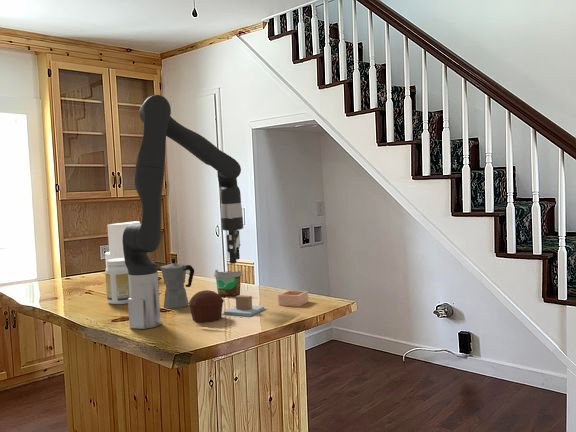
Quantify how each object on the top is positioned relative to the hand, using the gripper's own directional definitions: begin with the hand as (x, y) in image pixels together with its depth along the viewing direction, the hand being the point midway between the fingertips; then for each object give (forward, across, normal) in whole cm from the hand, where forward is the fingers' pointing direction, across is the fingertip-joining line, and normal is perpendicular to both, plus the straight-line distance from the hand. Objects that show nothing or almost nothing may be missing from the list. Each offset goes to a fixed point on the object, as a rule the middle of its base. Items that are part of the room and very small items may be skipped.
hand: (234, 261), depth 196 cm
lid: (+16, +9, +4) cm, 19 cm away
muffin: (+17, +17, -8) cm, 25 cm away
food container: (+18, -22, -8) cm, 30 cm away
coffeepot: (+17, -7, -23) cm, 30 cm away
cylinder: (+18, -71, -66) cm, 98 cm away
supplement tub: (+17, -20, -49) cm, 55 cm away
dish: (+17, -2, +20) cm, 26 cm away
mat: (+17, +9, +3) cm, 19 cm away
